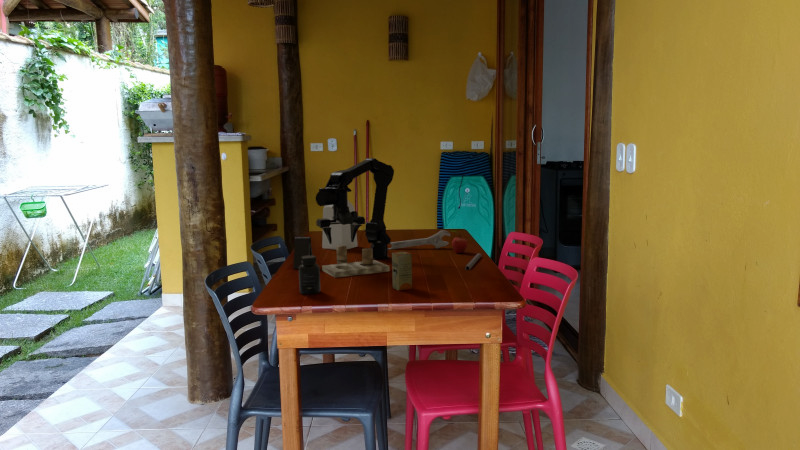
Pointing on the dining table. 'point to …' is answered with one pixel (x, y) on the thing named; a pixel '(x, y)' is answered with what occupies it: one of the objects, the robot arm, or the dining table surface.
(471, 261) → the metal rod
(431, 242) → the wrench
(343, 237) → the milk
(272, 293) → the dining table surface
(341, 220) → the robot arm
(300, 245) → the phone stand
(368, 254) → the seated peg
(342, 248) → the oak peg
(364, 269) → the birch board
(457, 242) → the apple
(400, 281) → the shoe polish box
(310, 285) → the supplement bottle
